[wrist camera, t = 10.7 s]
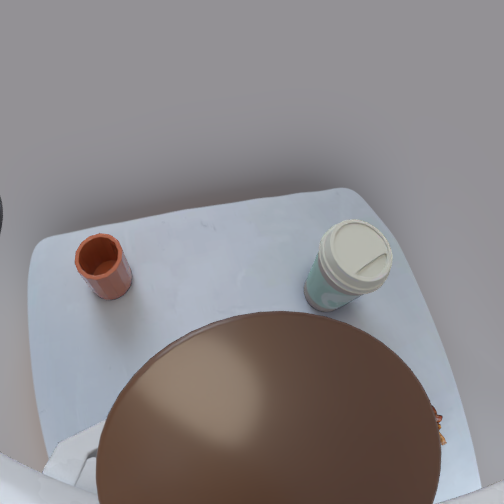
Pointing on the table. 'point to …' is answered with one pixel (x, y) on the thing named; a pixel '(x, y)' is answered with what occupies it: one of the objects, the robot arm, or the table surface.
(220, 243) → the table surface
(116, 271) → the crock
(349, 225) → the coffee cup
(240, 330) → the brown wooden rod
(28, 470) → the robot arm
